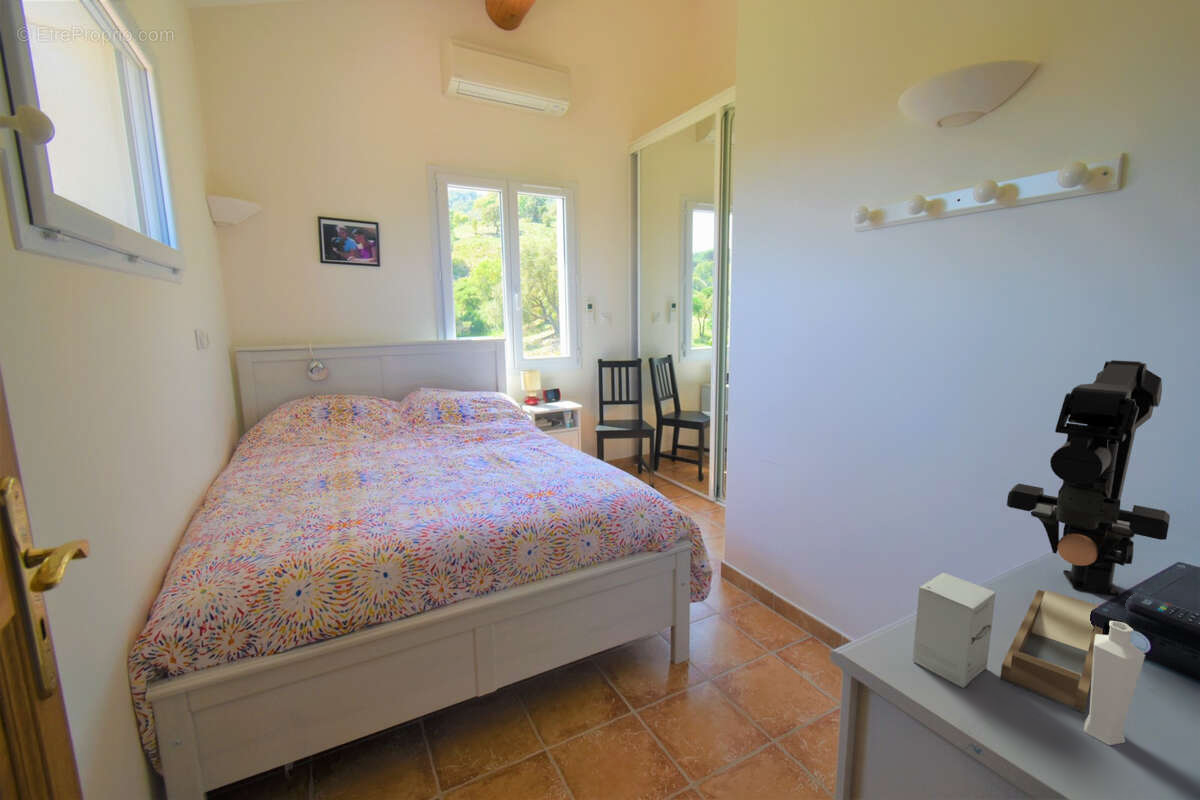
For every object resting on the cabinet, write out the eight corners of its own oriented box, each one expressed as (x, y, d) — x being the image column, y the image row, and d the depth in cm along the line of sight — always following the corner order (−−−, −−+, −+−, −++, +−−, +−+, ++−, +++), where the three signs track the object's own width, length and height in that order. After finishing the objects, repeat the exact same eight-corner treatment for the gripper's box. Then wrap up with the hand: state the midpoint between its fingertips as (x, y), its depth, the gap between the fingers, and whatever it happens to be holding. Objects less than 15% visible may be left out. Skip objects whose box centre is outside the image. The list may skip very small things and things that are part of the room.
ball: (1060, 567, 85) (1064, 539, 84) (1051, 553, 90) (1055, 526, 89) (1101, 574, 83) (1105, 544, 82) (1090, 559, 87) (1094, 531, 86)
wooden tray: (1036, 603, 94) (1039, 579, 93) (1105, 624, 87) (1109, 599, 86) (1000, 680, 76) (1003, 652, 75) (1083, 715, 70) (1088, 684, 69)
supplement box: (964, 690, 74) (973, 609, 72) (910, 661, 80) (916, 585, 78) (988, 669, 78) (997, 591, 76) (935, 642, 84) (942, 570, 82)
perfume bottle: (1085, 740, 65) (1102, 632, 63) (1074, 715, 69) (1089, 612, 66) (1135, 754, 63) (1155, 642, 60) (1120, 727, 67) (1139, 621, 64)
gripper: (1003, 467, 85) (994, 557, 88) (1174, 497, 71) (1155, 601, 74) (1019, 451, 92) (1010, 534, 95) (1177, 475, 78) (1160, 571, 81)
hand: (1076, 558), depth 86 cm, fingers closed on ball, 5 cm apart
